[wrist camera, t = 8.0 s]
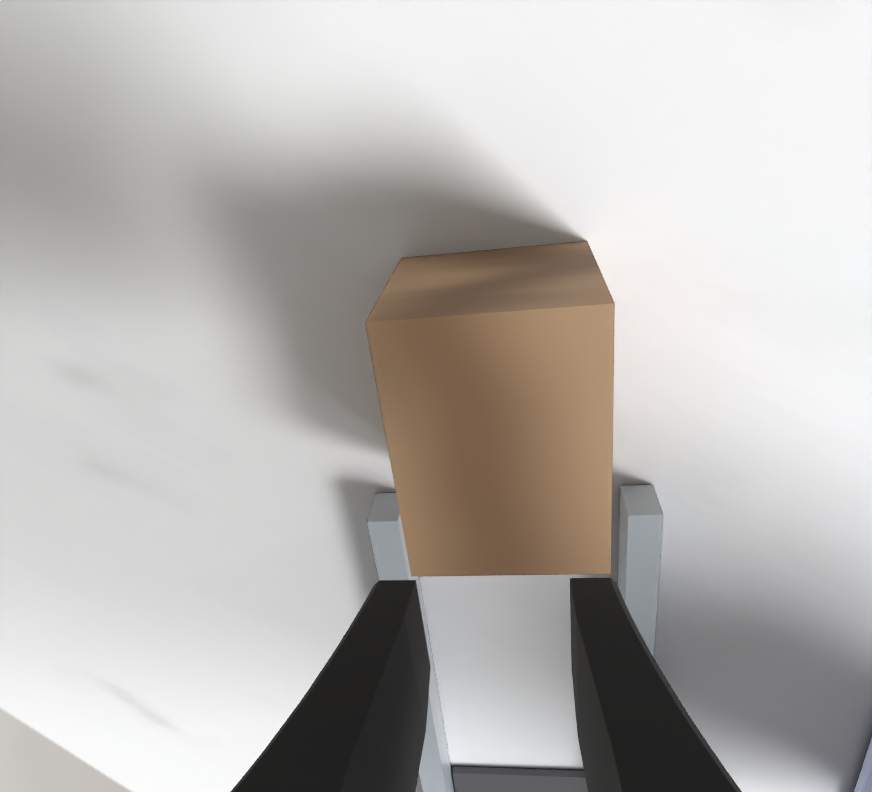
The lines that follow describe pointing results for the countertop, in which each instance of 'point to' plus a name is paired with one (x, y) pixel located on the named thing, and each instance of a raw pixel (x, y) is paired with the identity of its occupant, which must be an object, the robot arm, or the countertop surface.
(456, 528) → the brown rectangular block
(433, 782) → the channel
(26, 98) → the countertop surface
